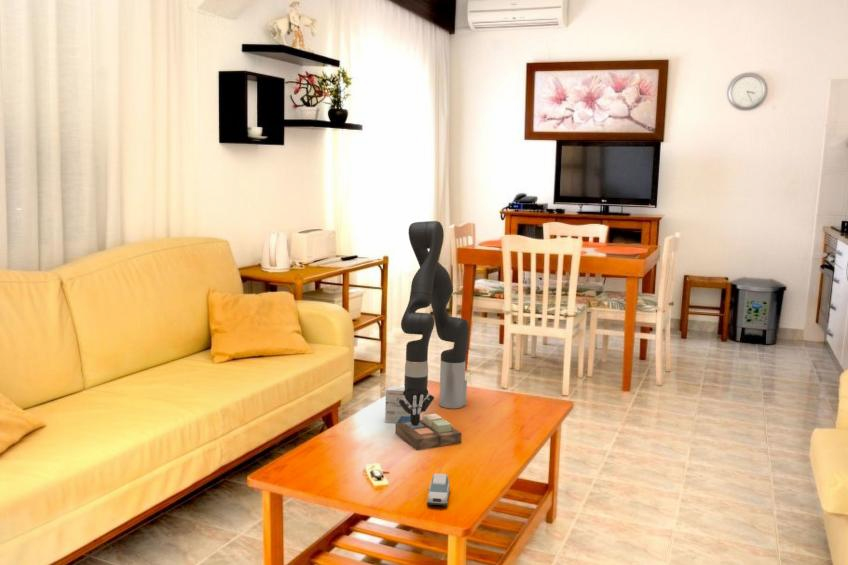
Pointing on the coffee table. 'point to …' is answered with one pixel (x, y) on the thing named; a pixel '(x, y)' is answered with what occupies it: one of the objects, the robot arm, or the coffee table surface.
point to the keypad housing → (427, 437)
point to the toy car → (439, 490)
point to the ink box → (395, 406)
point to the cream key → (430, 419)
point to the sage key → (441, 426)
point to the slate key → (414, 426)
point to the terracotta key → (423, 431)
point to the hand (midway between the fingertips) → (414, 424)
